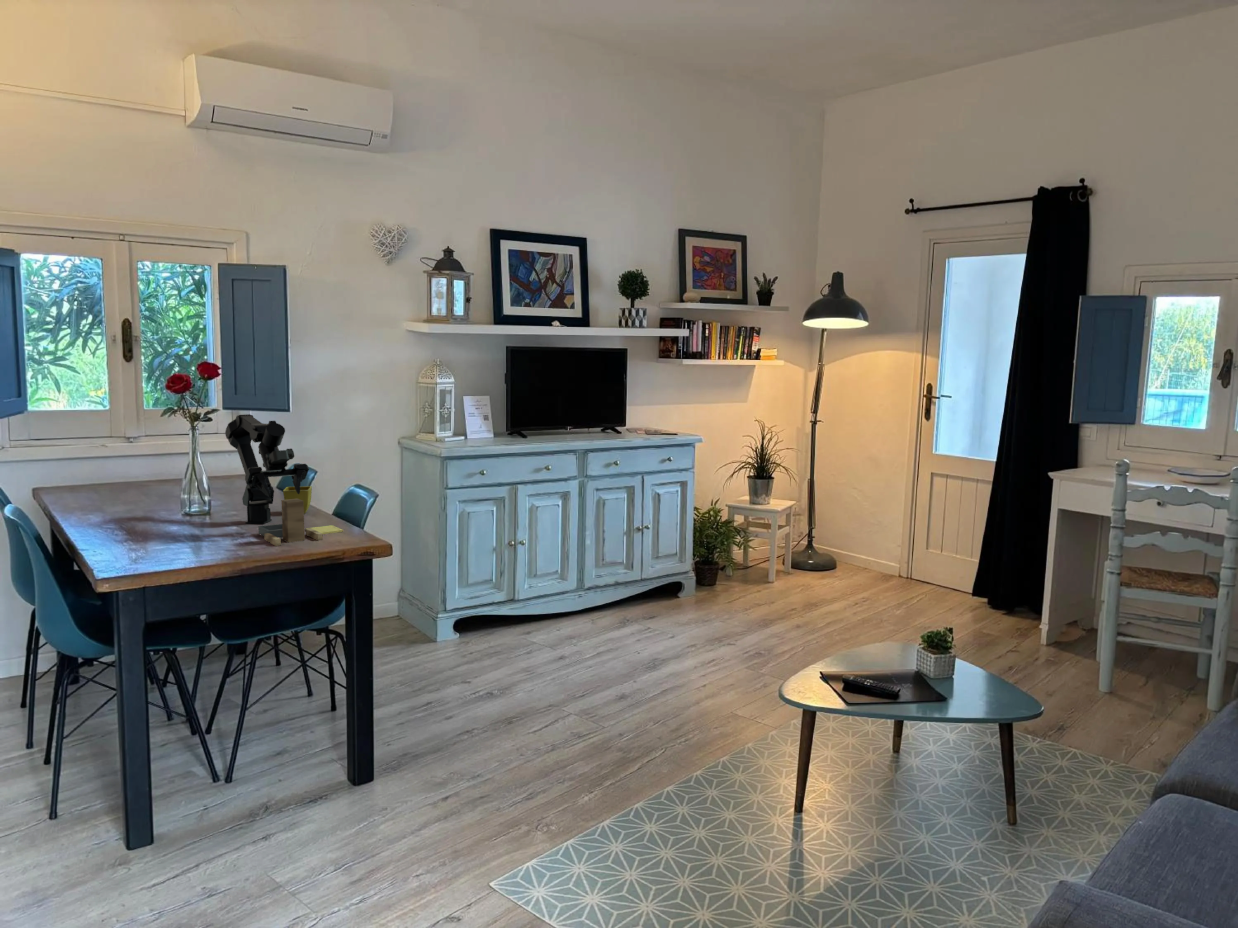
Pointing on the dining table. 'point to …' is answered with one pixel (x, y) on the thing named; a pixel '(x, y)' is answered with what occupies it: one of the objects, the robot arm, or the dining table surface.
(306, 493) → the flower pot
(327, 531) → the pad
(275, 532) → the charcoal tray
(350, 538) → the dining table surface
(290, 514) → the walnut block
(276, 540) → the brown lane walls
